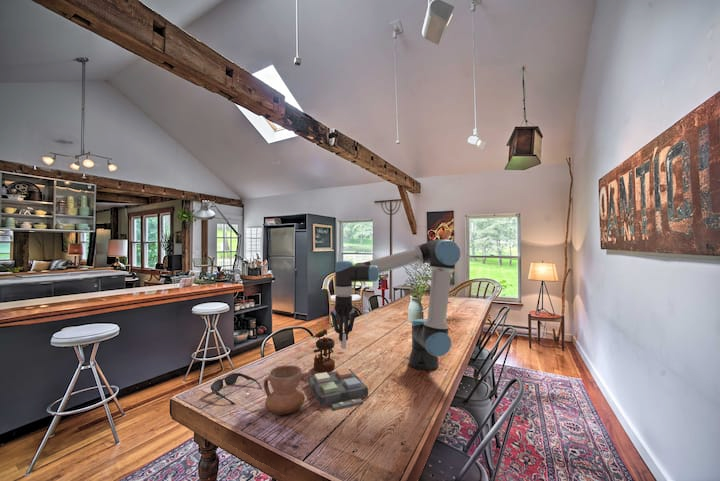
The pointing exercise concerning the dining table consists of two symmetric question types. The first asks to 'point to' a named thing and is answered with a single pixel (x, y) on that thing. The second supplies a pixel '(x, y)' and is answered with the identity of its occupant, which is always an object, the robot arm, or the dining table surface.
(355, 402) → the plaque
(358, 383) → the slate key
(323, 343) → the music box
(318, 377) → the cream key
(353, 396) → the keypad
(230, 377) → the sunglasses
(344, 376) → the terracotta key
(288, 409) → the ceramic jug
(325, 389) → the sage key
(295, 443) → the dining table surface
